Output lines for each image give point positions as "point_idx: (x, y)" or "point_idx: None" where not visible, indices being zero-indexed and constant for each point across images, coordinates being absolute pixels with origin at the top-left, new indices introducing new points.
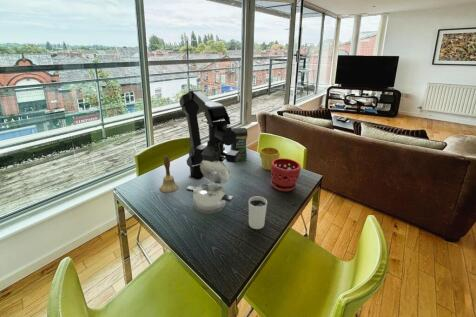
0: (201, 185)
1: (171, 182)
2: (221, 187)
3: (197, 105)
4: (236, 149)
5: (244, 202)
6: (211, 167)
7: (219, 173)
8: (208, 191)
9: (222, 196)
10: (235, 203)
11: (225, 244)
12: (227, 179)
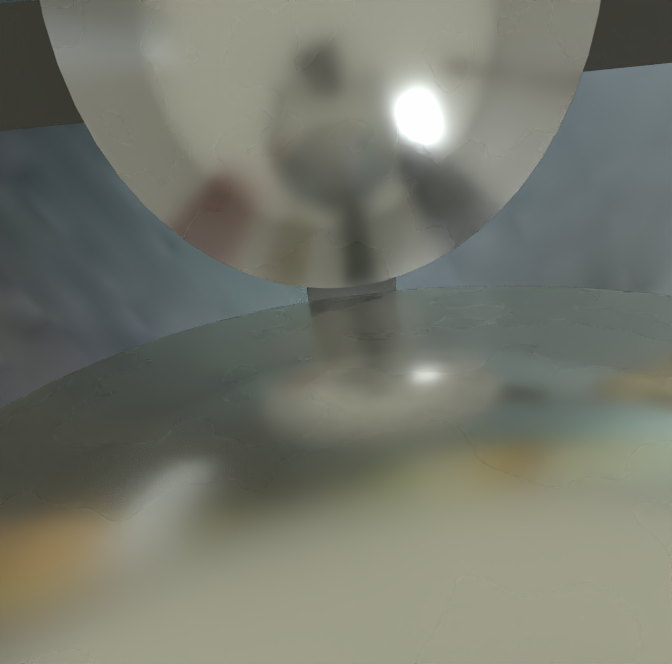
0: (529, 151)
1: None
2: (247, 255)
3: None
4: None
5: (48, 277)
6: (544, 429)
7: (259, 382)
8: (350, 42)
9: (44, 18)
10: (102, 219)
11: None
12: (117, 358)
